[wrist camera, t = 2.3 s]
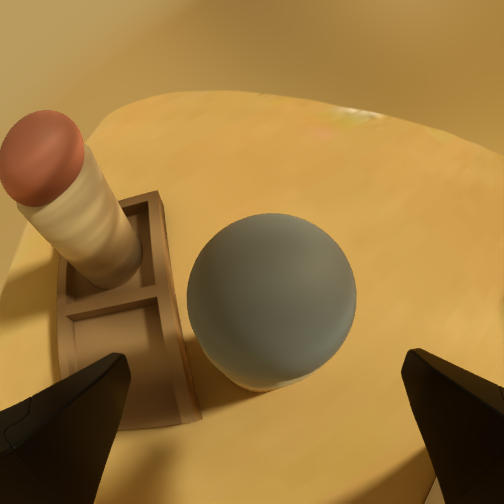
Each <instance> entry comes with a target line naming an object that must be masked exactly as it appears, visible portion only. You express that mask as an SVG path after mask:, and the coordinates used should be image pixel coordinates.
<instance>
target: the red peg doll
mask: <svg viewBox="0 0 504 504" xmlns="http://www.w3.org/2000/svg"><path fill="white" fill-rule="evenodd" d="M0 180H1V183H2V185H3V187H4V189H5V190H6V192H7V193H8V195H9V196H10V197H12V199H14V200H15V201H16V202H17V207H18V209H19V211H20V212H21V213H22V214H23V215H24V216H25V218H26V219H27V220H28V221H29V222H30V223H31V224H32V225H33V226H34V227H35V229H36V230H37V231H38V232H39V233H40V234H41V235H42V236H43V237H44V238H45V239H46V240H47V241H48V242H49V243H50V244H51V245H52V246H53V247H54V248H55V249H56V250H57V251H58V252H59V253H60V254H61V255H62V256H63V257H64V258H65V259H66V260H67V261H68V262H69V263H70V264H71V265H72V266H73V267H74V268H75V269H76V270H77V271H79V272H80V273H81V274H82V275H83V276H84V277H85V278H86V279H87V280H88V281H90V282H91V283H92V284H93V285H94V286H96V287H98V288H101V289H114V288H117V287H120V286H122V285H124V284H125V283H127V282H128V281H129V280H130V279H131V278H132V277H133V276H134V275H135V274H136V272H137V271H138V269H139V267H140V265H141V262H142V258H143V248H142V244H141V241H140V240H139V238H138V236H137V235H136V233H135V231H134V229H133V228H132V226H131V224H130V223H129V221H128V219H127V217H126V216H125V214H124V212H123V210H122V208H121V207H120V205H119V203H118V201H117V199H116V198H115V196H114V194H113V192H112V190H111V188H110V186H109V185H108V183H107V181H106V179H105V177H104V175H103V173H102V171H101V169H100V167H99V165H98V163H97V161H96V159H95V157H94V155H93V153H92V151H91V149H90V148H89V146H87V145H86V144H84V142H83V138H82V135H81V133H80V130H79V129H78V127H77V126H76V125H75V123H74V122H73V121H72V120H71V119H70V118H68V117H67V116H66V115H64V114H62V113H59V112H57V111H51V110H42V111H37V112H34V113H31V114H29V115H27V116H25V117H23V118H22V119H21V120H19V121H18V122H17V123H16V124H15V125H14V126H13V127H12V128H11V129H10V131H9V132H8V134H7V136H6V137H5V139H4V141H3V143H2V146H1V150H0Z"/></svg>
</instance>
